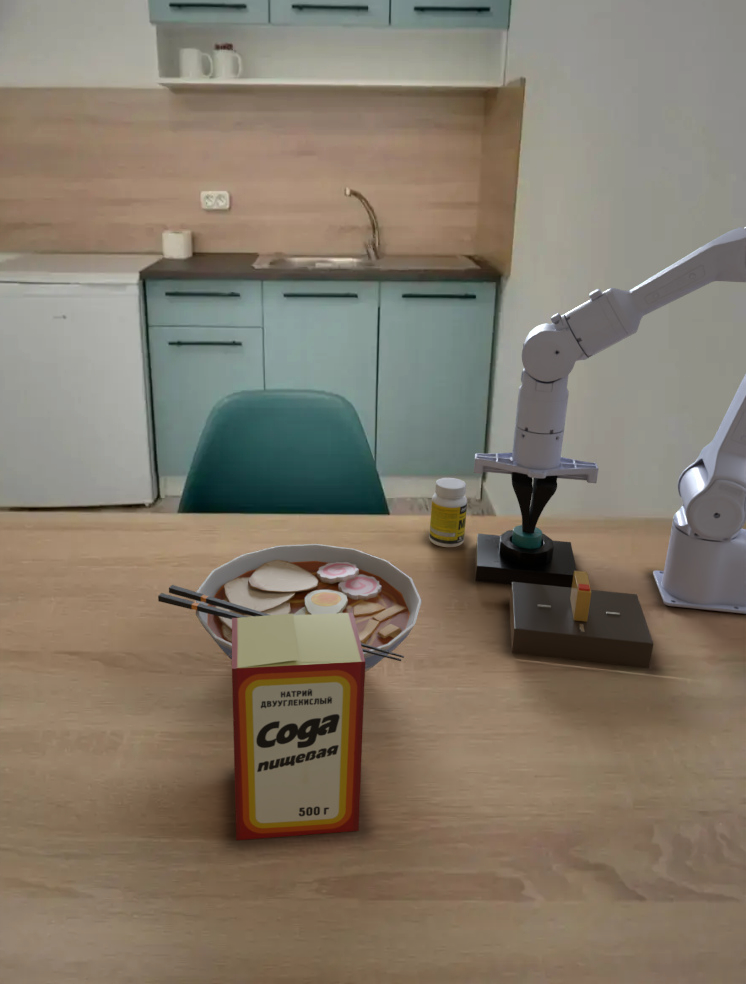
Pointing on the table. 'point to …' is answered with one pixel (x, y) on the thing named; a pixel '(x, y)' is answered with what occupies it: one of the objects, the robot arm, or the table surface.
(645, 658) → the lock plate
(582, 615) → the lock knob
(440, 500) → the supplement bottle
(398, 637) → the ramen bowl
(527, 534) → the bell button
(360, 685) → the baking soda box
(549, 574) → the block
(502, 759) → the table surface
